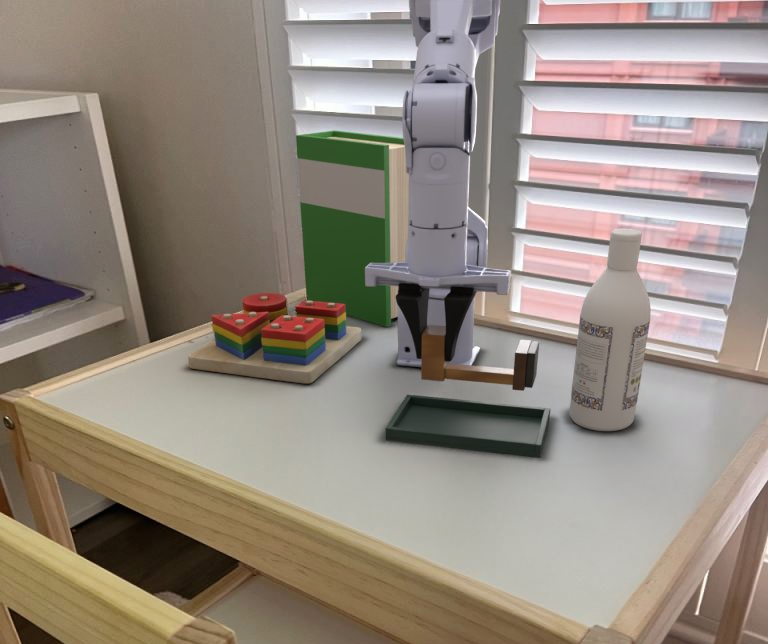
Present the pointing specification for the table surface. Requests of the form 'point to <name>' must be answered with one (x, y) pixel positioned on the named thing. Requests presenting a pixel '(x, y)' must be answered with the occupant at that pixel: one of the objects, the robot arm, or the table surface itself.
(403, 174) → the hardback book
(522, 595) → the table surface
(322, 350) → the shape sorter
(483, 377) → the brown barbell-shaped piece
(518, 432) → the brush tray
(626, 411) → the bath foam
